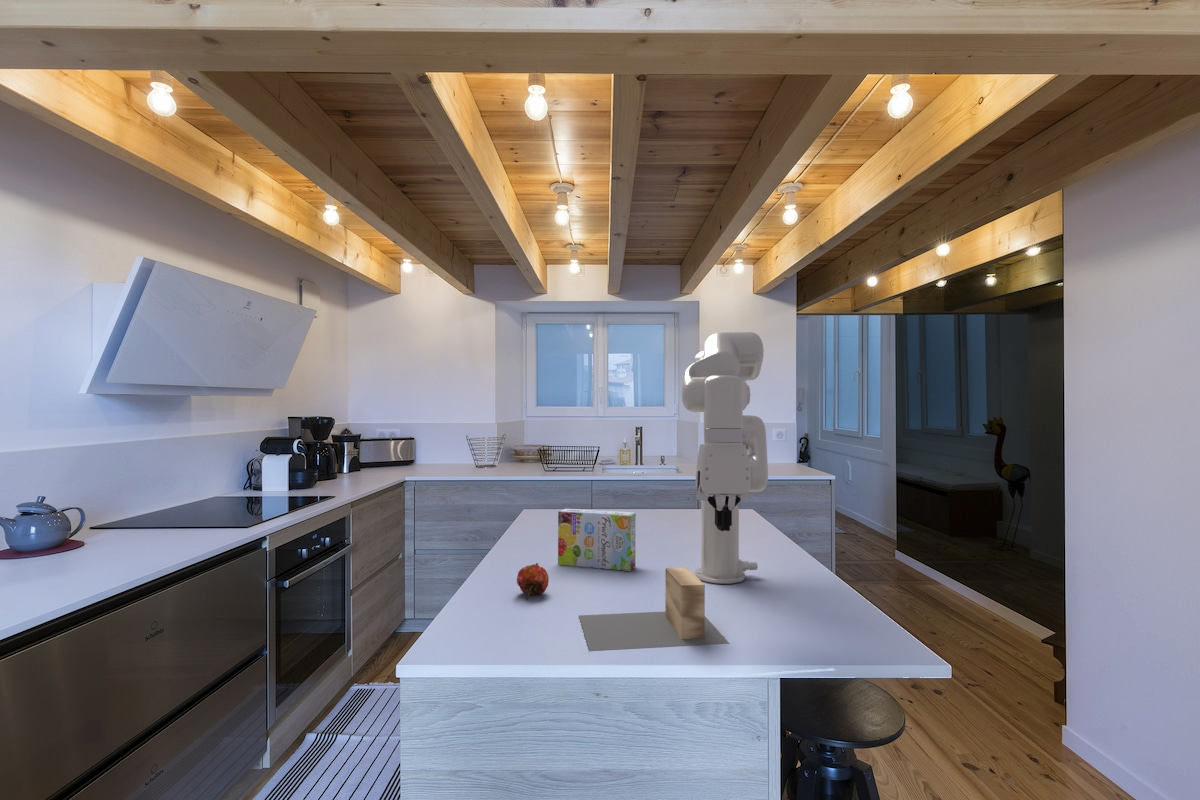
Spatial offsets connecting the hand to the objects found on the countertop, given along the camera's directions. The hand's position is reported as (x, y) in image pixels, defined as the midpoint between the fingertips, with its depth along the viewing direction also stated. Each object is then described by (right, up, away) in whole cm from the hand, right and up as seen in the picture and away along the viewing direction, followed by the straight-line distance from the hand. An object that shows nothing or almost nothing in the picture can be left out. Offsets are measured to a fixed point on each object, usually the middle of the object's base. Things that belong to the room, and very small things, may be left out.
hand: (723, 529), depth 118 cm
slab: (-8, -19, -1) cm, 21 cm away
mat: (-15, -19, -2) cm, 24 cm away
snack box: (-25, -20, +45) cm, 56 cm away
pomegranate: (-40, -20, +20) cm, 49 cm away
